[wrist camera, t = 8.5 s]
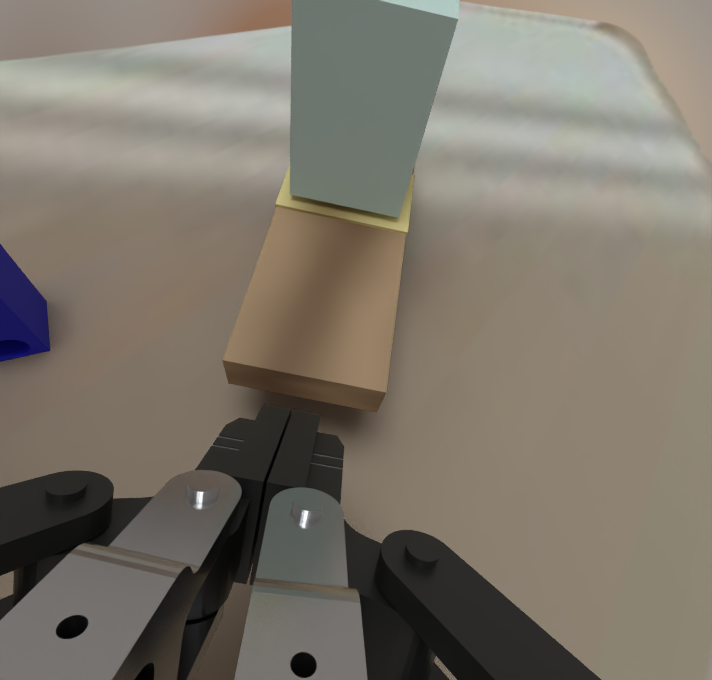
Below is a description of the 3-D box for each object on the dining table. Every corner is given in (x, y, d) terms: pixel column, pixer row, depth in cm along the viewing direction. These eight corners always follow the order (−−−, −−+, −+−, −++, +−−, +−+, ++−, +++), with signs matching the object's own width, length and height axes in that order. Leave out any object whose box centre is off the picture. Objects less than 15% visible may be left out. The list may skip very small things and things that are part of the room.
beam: (236, 418, 21) (216, 342, 15) (318, 154, 31) (326, 46, 25) (362, 442, 21) (394, 378, 15) (401, 173, 31) (430, 70, 25)
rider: (289, 194, 20) (293, -74, 12) (311, 128, 22) (326, -129, 14) (398, 217, 20) (472, -31, 12) (408, 149, 22) (474, -92, 15)
